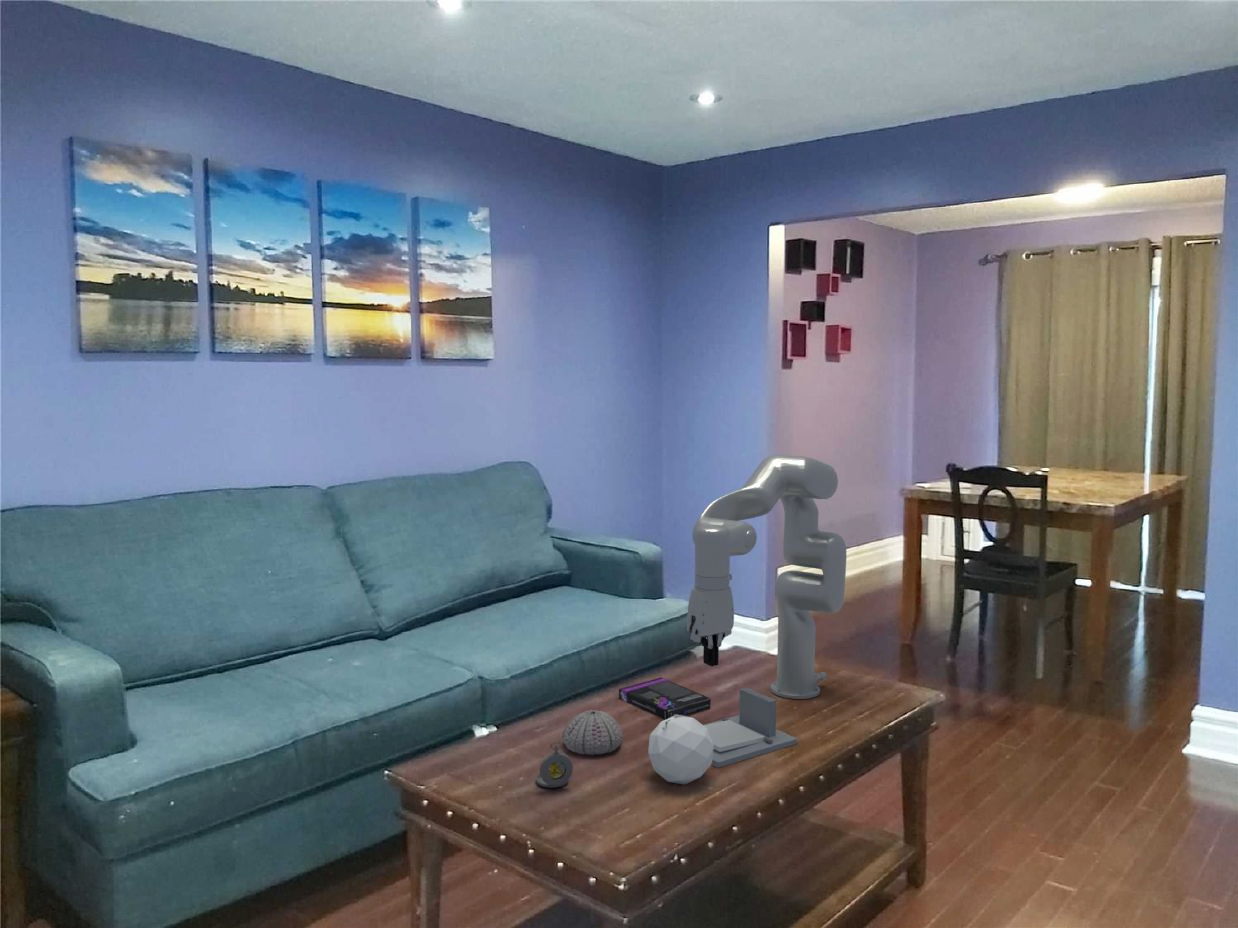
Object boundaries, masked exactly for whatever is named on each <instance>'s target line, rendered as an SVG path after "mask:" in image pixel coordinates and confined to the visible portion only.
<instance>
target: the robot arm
mask: <svg viewBox="0 0 1238 928" xmlns="http://www.w3.org/2000/svg"><path fill="white" fill-rule="evenodd" d="M838 484H839V478H838V474H837V472H836V470H835V469H834V467H833V466H831V465H829V464H827V463H825V462H823V461H820V460H817V459H815V458H813V457H808V456H804V455H803V456H802V455H801V456H800V455H784V454H772V455H769V456H767V457H765V458H764V459H763V460H762V461H761V462H760V463H759V464H758V465H757V467H756V468H755V470H754V471H753V473H751V475H750V477H749V478H748V479H747V481H746V482H745V483H744V485H742V487H741V488H738V489H735V490H733V491H731V492H730V493H728V494H725V495H723V496H721V497H719V498H717V499H715V500H713V501H712V502H711V503H709V504H708V505H707V506H706V507H705V508H704V510H703V511H702V513H701V514H700V515H699V517H698V518H697V519H696V521H695V524H694V526H693V529H692V542H693V544H694V587H693V588H691V590H690V594H689V599H688V605H687V613H686V614H687V615H686V630H687V632H688V633H690V641H692V642H694V643H700V645H701V647H702V648H703V651H702V652H703V655H702V656H703V658H702V659H703V664H705V665H707V666H710V667H714V666H718V665H719V659H720V658H719V657H720V656H719V649H720V648H721V646H722V642H723V641H724V640H725V638H726V637H728V636H730V635H732V630H733V628H734V624H735V622H734V621H735V609H734V608H735V607H734V598H733V593H732V592H733V591H732V588H731V586H730V581H732V579H733V575H732V574H731V573H730V571H731V570H730V567H731V565H730V563H731V562H730V560H731V559H730V558H731V557H733V556H734V557H735V556H737V557H738V556H744V555H748V553H750V552H752V550H754V548H755V545H756V543H757V540H758V539H757V532H756V530H755V528H754V526H752V524H750V523H748V522H745V521H743V520H749V519H755V518H758V517H762V516H765V515H768V514H769V513H771V511H772V510H773V508H774V507H775V505H776V504H777V502H778V501H779V500H780V501H781V503H782V507H783V512H784V521H783V522H784V523H783V540H782V541H783V542H782V544H783V546H782V548H783V549H782V551H783V553H782V554H783V558H784V560H785V562H786V563H788V564H789V565H792V566H796V567H801V568H802V567H803V568H810V569H816V570H817V569H818V570H821V571H822V574H821V573H813V572H808V571H801V570H787V571H784V572H782V573H780V574H779V575H778V577H777V578H776V580H775V582H774V594H775V600H776V605H777V607H776V608H777V657H776V659H777V661H776V680H775V681H773V682H772V683H771V684H770V691H771V693H773V694H774V695H776V696H779V697H780V698H781V697H782V698H786V699H791V700H793V699H794V700H806V699H807V700H808V699H809V700H810V699H813V698H815V697H818V696H819V695H820V694H821V688H820V686H819V685H818V684H817V683H818V682H819V681H824V680H827V676H828V675H827V673H826V672H825V671H821V672H815V661H816V660H815V657H816V656H815V655H816V629H817V628H816V624H815V620H814V617H813V616H812V614H811V612H816V613H820V614H821V613H822V614H830V615H831V614H836V613H838V612H839V611H840V610H841V608H843V604H844V600H845V589H846V572H847V571H846V570H847V547H846V542H845V540H844V538H843V537H842V535H840V534H838V533H835V532H830V531H829V532H828V531H821V530H820V529H819V509H818V505H817V504H816V502H815V500H814V499H816V500H828V499H830V498H832V497H833V496H834V495H835V493H836V491H837V489H838Z"/></svg>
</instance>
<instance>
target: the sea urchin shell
mask: <svg viewBox="0 0 1238 928" xmlns="http://www.w3.org/2000/svg"><path fill="white" fill-rule="evenodd" d="M623 733H624V732H622V727H621V726H620V724H619V723H618V721H617V720H616V719H615V717H613V716H612V715H610V714H609V713H608V712H605V711H603V710H596V709H595V710H594V709H590V710H589V709H588V710H585V711H584V712H581V713H578V714H577V715H575V716H574V717H573V718H572V719H570V720H569V721H568V722H567V724H566V725H565V727H564V729H563V732H562V736H561V737H562V739H563V742H564V743H563V745H565V746H566V749H568V751H571V752H573V753H575V754H576V753H577V754H579V755H589V756H595V755H599V756H601V755H604V754H610V753H612V752H613V751H614V752H615V750H617V748H619V746H620V745H621V744H622V741H623V737H624V736H623Z"/></svg>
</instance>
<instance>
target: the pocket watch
mask: <svg viewBox="0 0 1238 928" xmlns="http://www.w3.org/2000/svg"><path fill="white" fill-rule="evenodd" d="M555 744H556V745H555ZM558 744H560V746H559V745H558ZM553 745H555V746H554V747H552V746H553ZM563 745H564V743H562V741H561V742H560V741H556V742H552V743H550V746H549V747H550V749H552V750H553V751H554V752H553V753H550V754H548V755H547V756H546V757H545V758H543V759H542V762H541V763H540V766H539V774H537V776H536V777H535V781H536V784H537V785H539V786H540V787H544V788H549V789H553V788H560V787H563V786H565V785H567V784H568V782H569V779H570V778H571V777H572V775H573V771H574V768H573V767H574V765H573V761H572V760H571V758H570V757H569V756H568V755H567V754H566V753H564V752H563V753H562V752H558V751H559V750H560V749H561V748H562V747H563Z"/></svg>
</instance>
